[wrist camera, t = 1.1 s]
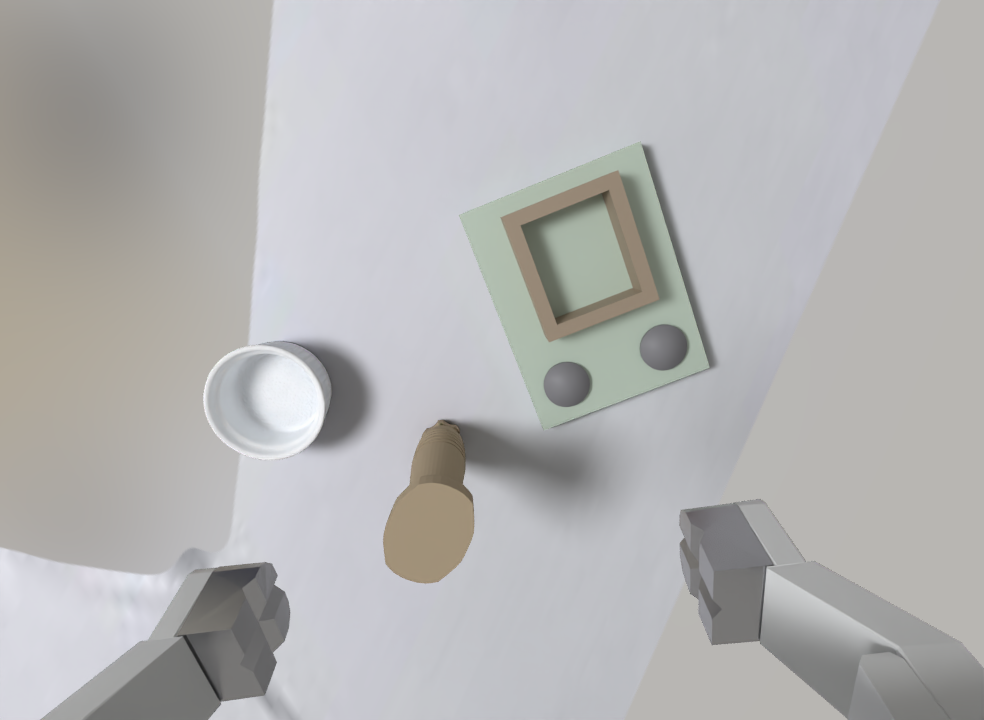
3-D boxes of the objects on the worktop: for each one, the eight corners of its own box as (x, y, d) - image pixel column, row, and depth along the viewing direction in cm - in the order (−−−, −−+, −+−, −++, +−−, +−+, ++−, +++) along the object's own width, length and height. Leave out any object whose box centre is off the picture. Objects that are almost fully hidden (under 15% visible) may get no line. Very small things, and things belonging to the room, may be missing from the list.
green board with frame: (702, 363, 46) (723, 376, 42) (541, 424, 47) (547, 442, 43) (634, 144, 42) (651, 136, 38) (459, 215, 43) (457, 214, 39)
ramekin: (211, 411, 46) (184, 430, 42) (251, 314, 44) (228, 324, 40) (313, 456, 47) (297, 479, 43) (356, 364, 45) (344, 378, 41)
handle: (484, 413, 46) (488, 500, 32) (455, 479, 48) (447, 593, 33) (429, 392, 46) (408, 471, 31) (402, 460, 47) (369, 566, 33)
